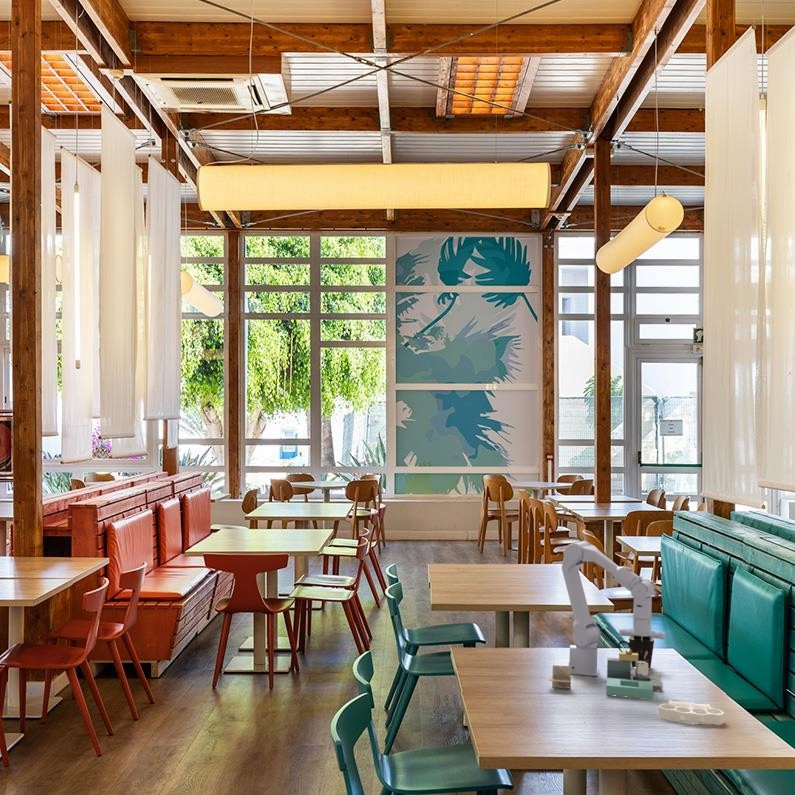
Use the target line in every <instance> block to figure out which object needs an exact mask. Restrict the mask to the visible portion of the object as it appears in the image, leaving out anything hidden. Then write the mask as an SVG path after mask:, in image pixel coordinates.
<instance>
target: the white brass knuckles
mask: <svg viewBox="0 0 795 795" xmlns="http://www.w3.org/2000/svg"><path fill="white" fill-rule="evenodd" d="M660 717H661V718H660ZM658 718H660V719H662V718H663V719H662V720H664V719H666V720H665V721H672V720H675V721H674V722H677V721H678V722H677V723H680V722H684V723H683V724H685V723H695V724H694V725H697V724H709V725H711V724H723V723H724V724H725V712H724V711H723V710H721V709H718V708H714V707H711V704H709V703H706V704H704V703H703V704H702V703H695V702H694V703H693V702H691V701H690V702H689V701H688V702H687V701H686V702H685V701H677V700H676V701H674V700H668V703H661V704H659V705H658ZM724 724H723V725H724Z"/></svg>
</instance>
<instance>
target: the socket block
mask: <svg viewBox="0 0 795 795" xmlns="http://www.w3.org/2000/svg"><path fill="white" fill-rule="evenodd" d="M606 665H607V666H606V669H607V670H606V679H607V678H616V679H627V680H635V673H631V672H632V664H631V661H627V660H619V658H615V657H607V662H606ZM648 681H649V682H652V685H653V690H660V691H659V692H662V691H663V690H662V681H661V676H660V675H650V674H648Z"/></svg>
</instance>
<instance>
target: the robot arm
mask: <svg viewBox="0 0 795 795" xmlns="http://www.w3.org/2000/svg"><path fill="white" fill-rule="evenodd" d="M562 553H563V559H562V564H561V571H562V574H563V578H564V582H565V586H566V590H567V595H568V599H569V601H570V602H569V603H570V605H571V610H572V614H573V617H574V621H573V624H572V630H573V631H572V632H573V633H572V640H573V643H574V644H570V645H569V661H568V666H570V675H581V676H592V677H599V668H598V642H599V641H600V640H601V637H602V632H601V630H600V628H599V626H597V623H596V620H595V619H594V618H593V617H592V616H591V614H590V609H589V607H588V601H587V598H586V594H585V590H584V587H583V583H582V579H581V575H580V569H581V567H582V566H583V564H584V563H585V562H590V563H591V562H593V563H595V564H596V565H598V566H599V567H601V568H602V569H604V570H605V571H606V572H608V573H610V574H612V575H613V576H612V577H613V579H614V581H615V582H617V583H618V584H620V586H623V587H624V588H625V589H626V590H627V591H629V592H630V594H631V596H632V597H633V609H632V610H633V613H632V614H633V617H632V625H633V626H632V628H630V629H629V628H627V629H626V628H619V629H618V636H619V637H630V636H631V637H634V642H635V644H636V646H637V649H638V653H639V660H644V655H645V652H646V649H647V647H648V645H649V643H650V638H654V639H658V640H663V641H664V640H666V632H662V631H657V630H656V631H654V630H652V611H653V610H652V609H653V608H652V604H653V600H652V596H654V594H655V585H654V584H653V582H651V580H649V579H646V578H645V579H644V578H643V576H641V575H640V576H639V575H638V574H636V573H635V572H634V571H632V568H631V567H629V566H619V565H618V564H616V563H615V562H614V561H613V560H612V559H610V558H609V557H608V556H606V554H604V553H603V552H601V551H600V550H599V549H598V548H597V547H596V546H595V545H593V544H591V543H590V542H588V541H587V540H582V541H579V542H571V543H569V544H567V545H566V547H565V548H564V550H563V551H562ZM641 637H642V640H641ZM641 645H642V653H641Z"/></svg>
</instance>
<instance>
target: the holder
mask: <svg viewBox="0 0 795 795" xmlns="http://www.w3.org/2000/svg"><path fill="white" fill-rule="evenodd" d="M609 695H616V696H615V697H619V696H627V697H626V698H630V697H636V698H635V699H640V698H643V699H642V700H651V699H653V700H654V691H653V685H652V682H649V681H638V680H627V679H616V678H607V677H606V696H609Z"/></svg>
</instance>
